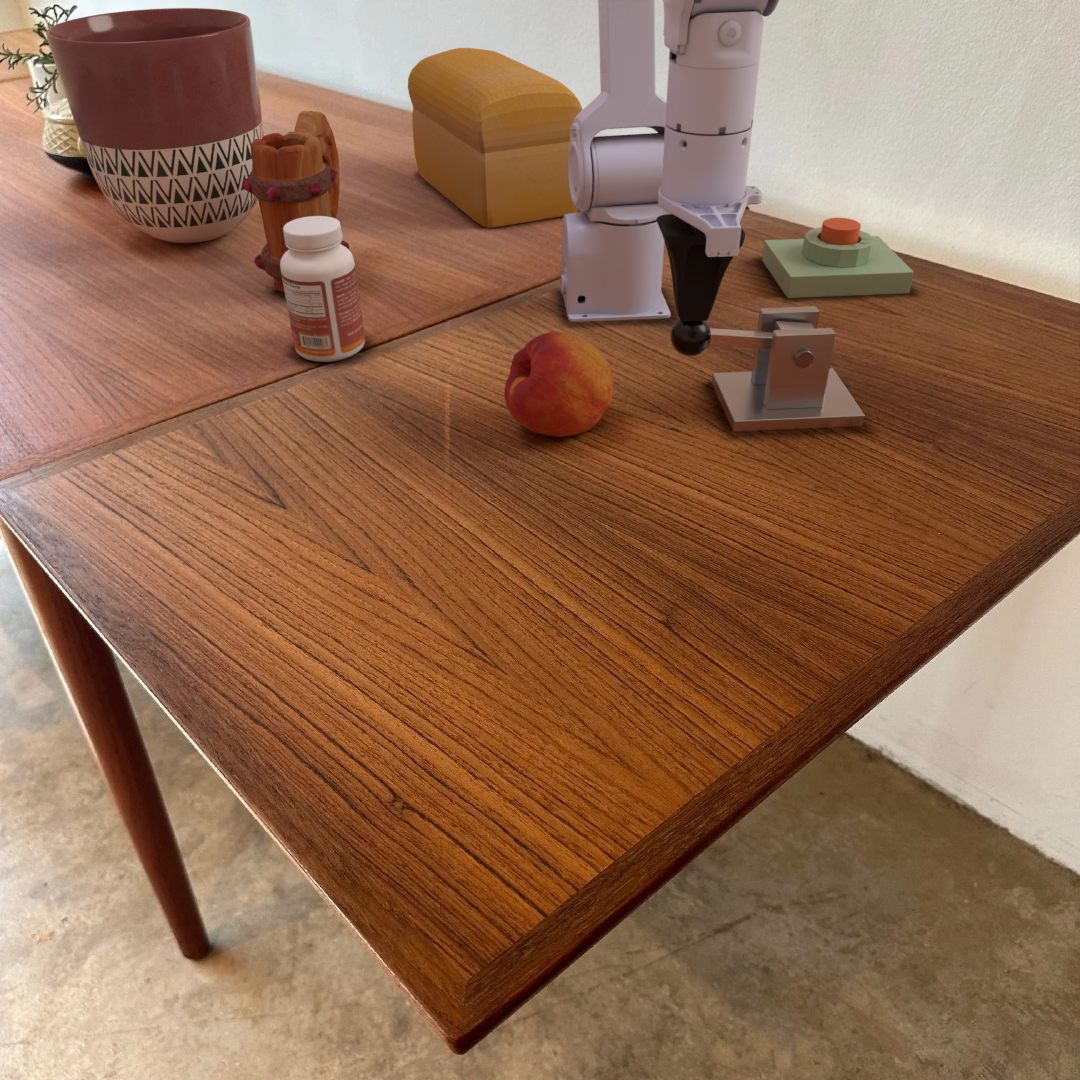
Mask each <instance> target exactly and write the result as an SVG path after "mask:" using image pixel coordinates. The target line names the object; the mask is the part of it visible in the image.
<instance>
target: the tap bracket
mask: <svg viewBox="0 0 1080 1080" xmlns="http://www.w3.org/2000/svg"><path fill="white" fill-rule="evenodd" d="M758 312H759V313H758V321H757V328H756V331H760V332H773V336H772V343H771V350H770V351H769V350H764V349H754V351H753V358H752V359H753V360H752V368H751V370H750V371H749V370H748V371H728V372H727V371H725V372H712V373H711V385H712V387H713V390H714V392H715V394H716V397H717V398H718V401H719V403H720V405H721V408H722V410H723V412H724V414H725V416H726V419H727V422H728V423H729V425H730V426H729V427H731V430H732V432H733V433H737V432H738V433H739V432H759V431H780V430H782V431H783V430H800V429H802V430H804V429H825V428H844V427H845V428H846V427H863V426H864V421H865V415H866V414H865V413H864V412H863V410H862V408H861V407H860V406H859V404H858V403H857V401H856V400H855V398H854V397H853V395H852V394H851V392H850V390H849V389H848V388H847V387H846V384H844V382H843V380H842V379H841V378H840V376H839V375H838V373H837V371H836V370H835V368H833V367H831V361H832V358H833V357H832V356H833V351H834V344H835V340H836V332H835V330H834V329H833V327H821V328H818V323H819V317H820V309H819V308H818V307H817V306H816V305H811V306H784V307H760V308H759V311H758ZM776 321H783V322H798V323H811V324H812V326H813V327H814V329H794V330H774V327H775V323H776Z"/></svg>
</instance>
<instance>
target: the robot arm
mask: <svg viewBox="0 0 1080 1080" xmlns="http://www.w3.org/2000/svg"><path fill="white" fill-rule="evenodd" d="M779 1H780V0H662V3H663V33H662V35H663V38H664V39H663V43H664V46H665V47H666V48H668V49H669V53H668V70H667V72H668V73H667V87H666V88H667V89H666V99H664V97H661V95H659V94H658V93H657V91H656V3H655V2H656V1H655V0H597V5H598V6H597V7H598V9H597V11H598V41H599V42H598V44H599V45H598V46H599V47H598V48H599V77H600V78H599V79H600V80H599V81H600V92H599V94H598V95H597V96H596V97H595V98H594V99H592V101H590V103H588V104H587V106H585V107H584V108H582V109H583V110H582V111H581V112H580V113H579V114H578V115H577V116H576V117H575V118H574V121H573V123H572V126H571V128H570V150H569V159H568V177H569V188H570V194H571V199H572V202H573V204H574V205H575V206H576V207H577V208H578V211H577V213H570V214H565V215H564V216H562V217H563V218H562V248H561V249H562V252H561V253H562V256H561V257H562V261H561V263H562V269H561V270H562V272H561V273H562V274H561V275H560V293H561V295H562V297H563V302H564V307H565V310H566V315H567V319H568V321H569V322H571V323H580V322H581V323H582V322H585V323H586V322H607V321H632V320H656V319H669V318H671V314H672V313H671V310H670V308H669V305H668V304H667V301H666V299H665V296H664V294H663V292H662V285H663V269H664V256H665V255H664V252H665V247H666V252H667V256H668V260H669V265H670V273H671V282H672V289H673V299H674V304H675V310H676V313H677V316H678V318H679V319H680V321H682V322H686V321H706V322H707V321H708V320H709V318H710V316H711V313H712V310H713V308H714V306H715V302H716V299H717V295H718V293H719V289H720V287H721V283H722V281H723V278H724V276H725V274H726V272H727V269H728V268H729V266H730V264H731V262H732V260H733V259H734V257H738V256H739V253H740V249H741V248H742V247H743V245H744V243H745V240H746V232H745V231H744V229H743V228H742V226H741V221H742V218H743V215H744V213H745V211H746V208H747V207H748V206H750V205H760V204H762V200H763V192H762V191H761V190H760V188H759V187H757V186H755V185H747V179H748V169H749V160H750V150H751V142H752V132H753V123H754V113H755V104H756V94H757V85H758V76H759V66H760V59H761V48H762V41H763V30H764V22H765V21H764V17H765V18H766V17H769V16H770V15H772V14H773V13H774V12H775V10H776V8H777V6H778V4H779ZM633 128H635V129H637V128H650V129H652V130H654V131H655V132H653V133H650V132H649V133H635V134H634V133H633V134H615V135H600V136H599V135H598V134H599V133H600V132H602V131H607V130H616V129H618V130H619V129H633ZM596 135H597V136H596Z"/></svg>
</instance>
